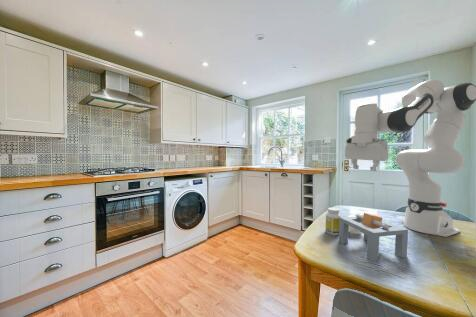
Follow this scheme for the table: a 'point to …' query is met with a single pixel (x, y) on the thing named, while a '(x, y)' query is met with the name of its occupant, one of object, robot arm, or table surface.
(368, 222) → the tall tan box
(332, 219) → the pill bottle
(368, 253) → the square frame with slider
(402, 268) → the table surface
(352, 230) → the shot glass
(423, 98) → the robot arm
